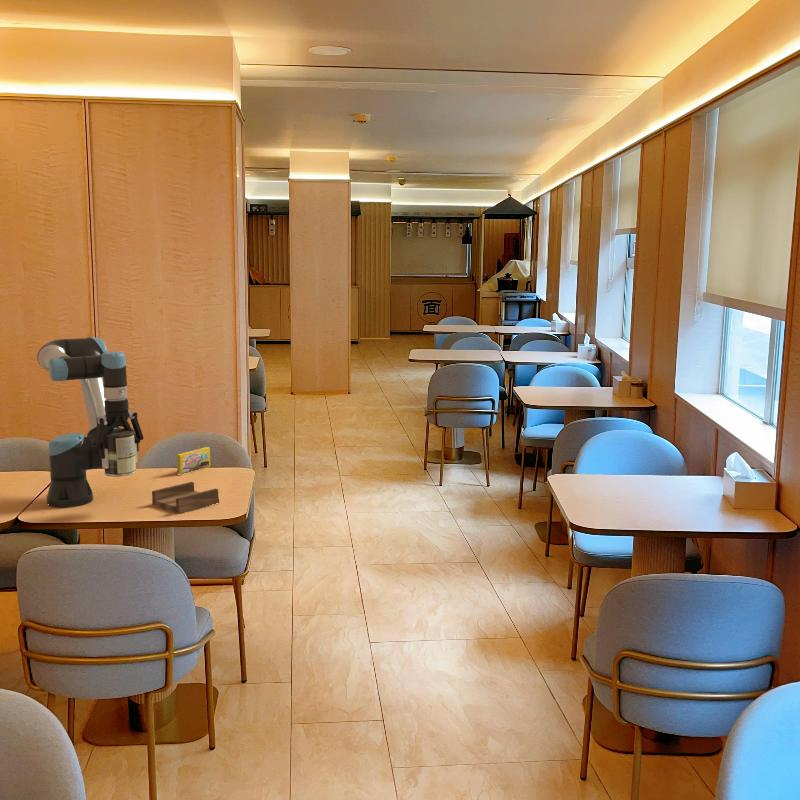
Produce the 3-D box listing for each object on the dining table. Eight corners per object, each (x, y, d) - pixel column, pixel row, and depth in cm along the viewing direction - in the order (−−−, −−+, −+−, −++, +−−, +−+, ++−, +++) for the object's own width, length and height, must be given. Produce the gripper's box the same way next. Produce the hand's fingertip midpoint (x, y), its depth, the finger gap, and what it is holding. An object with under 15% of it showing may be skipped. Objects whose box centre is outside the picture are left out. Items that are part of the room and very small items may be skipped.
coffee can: (101, 477, 295) (98, 435, 293) (107, 469, 305) (105, 428, 303) (134, 476, 296) (131, 434, 294) (139, 468, 306) (136, 427, 304)
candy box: (180, 476, 348) (179, 455, 347) (176, 475, 349) (175, 454, 348) (211, 467, 362) (210, 447, 360) (207, 466, 363) (206, 446, 361)
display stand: (152, 505, 309) (151, 491, 308) (191, 495, 321) (190, 481, 320) (179, 514, 298) (179, 499, 297) (219, 503, 310) (218, 489, 309)
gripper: (90, 405, 286) (94, 473, 290) (152, 395, 302) (155, 460, 306) (78, 402, 291) (82, 469, 295) (139, 393, 307) (143, 456, 311)
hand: (120, 464), depth 300 cm, fingers closed on coffee can, 10 cm apart
